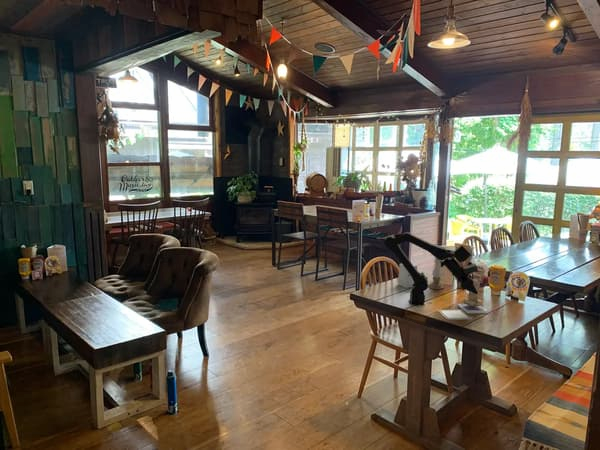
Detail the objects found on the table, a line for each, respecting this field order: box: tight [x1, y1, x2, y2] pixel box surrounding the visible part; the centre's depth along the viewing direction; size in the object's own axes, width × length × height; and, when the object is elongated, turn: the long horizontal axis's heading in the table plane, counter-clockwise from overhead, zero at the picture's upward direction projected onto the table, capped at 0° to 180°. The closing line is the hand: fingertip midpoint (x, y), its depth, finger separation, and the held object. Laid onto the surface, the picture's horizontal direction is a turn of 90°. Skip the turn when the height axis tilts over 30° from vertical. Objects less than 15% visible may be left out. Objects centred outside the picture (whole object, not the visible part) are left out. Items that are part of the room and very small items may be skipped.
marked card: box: [437, 309, 473, 320], centre depth 208 cm, size 12×12×1 cm
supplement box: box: [397, 263, 418, 289], centre depth 251 cm, size 7×7×13 cm
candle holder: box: [428, 256, 445, 290], centre depth 249 cm, size 9×9×20 cm
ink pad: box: [457, 303, 488, 314], centre depth 216 cm, size 10×10×2 cm
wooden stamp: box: [462, 278, 483, 307], centre depth 214 cm, size 6×6×13 cm
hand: (476, 292), depth 214 cm, fingers closed on wooden stamp, 4 cm apart
